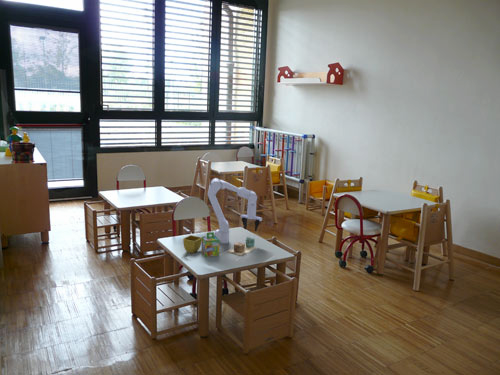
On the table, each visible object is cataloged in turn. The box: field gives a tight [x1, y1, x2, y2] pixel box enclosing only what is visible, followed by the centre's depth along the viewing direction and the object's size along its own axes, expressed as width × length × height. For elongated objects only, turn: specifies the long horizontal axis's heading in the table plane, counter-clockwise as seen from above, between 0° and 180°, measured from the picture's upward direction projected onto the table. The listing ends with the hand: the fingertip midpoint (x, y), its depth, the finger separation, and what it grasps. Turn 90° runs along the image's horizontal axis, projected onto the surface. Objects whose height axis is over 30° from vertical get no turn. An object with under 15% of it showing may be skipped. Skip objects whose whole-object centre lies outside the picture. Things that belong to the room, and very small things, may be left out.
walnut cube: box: [233, 241, 246, 253], centre depth 266 cm, size 5×5×5 cm
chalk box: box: [200, 231, 221, 258], centre depth 260 cm, size 9×9×15 cm
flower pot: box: [182, 234, 202, 254], centre depth 266 cm, size 9×9×9 cm
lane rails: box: [218, 246, 260, 262], centre depth 267 cm, size 14×26×2 cm, turn 149°
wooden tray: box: [227, 236, 257, 257], centre depth 270 cm, size 10×19×6 cm, turn 149°
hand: (250, 229), depth 283 cm, fingers open, 7 cm apart
